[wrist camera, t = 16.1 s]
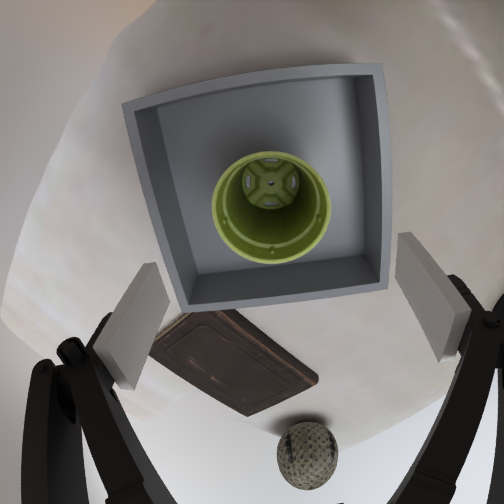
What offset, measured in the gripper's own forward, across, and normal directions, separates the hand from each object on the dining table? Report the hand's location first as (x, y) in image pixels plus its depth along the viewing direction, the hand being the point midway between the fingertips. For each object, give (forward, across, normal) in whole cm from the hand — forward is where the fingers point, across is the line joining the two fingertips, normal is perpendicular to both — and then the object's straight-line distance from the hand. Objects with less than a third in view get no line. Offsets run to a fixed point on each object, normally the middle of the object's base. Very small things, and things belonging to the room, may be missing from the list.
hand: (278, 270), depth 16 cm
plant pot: (+18, 0, 0) cm, 18 cm away
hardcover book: (+19, -10, -27) cm, 35 cm away
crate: (+18, -1, 0) cm, 19 cm away
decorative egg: (+18, 0, -49) cm, 53 cm away
